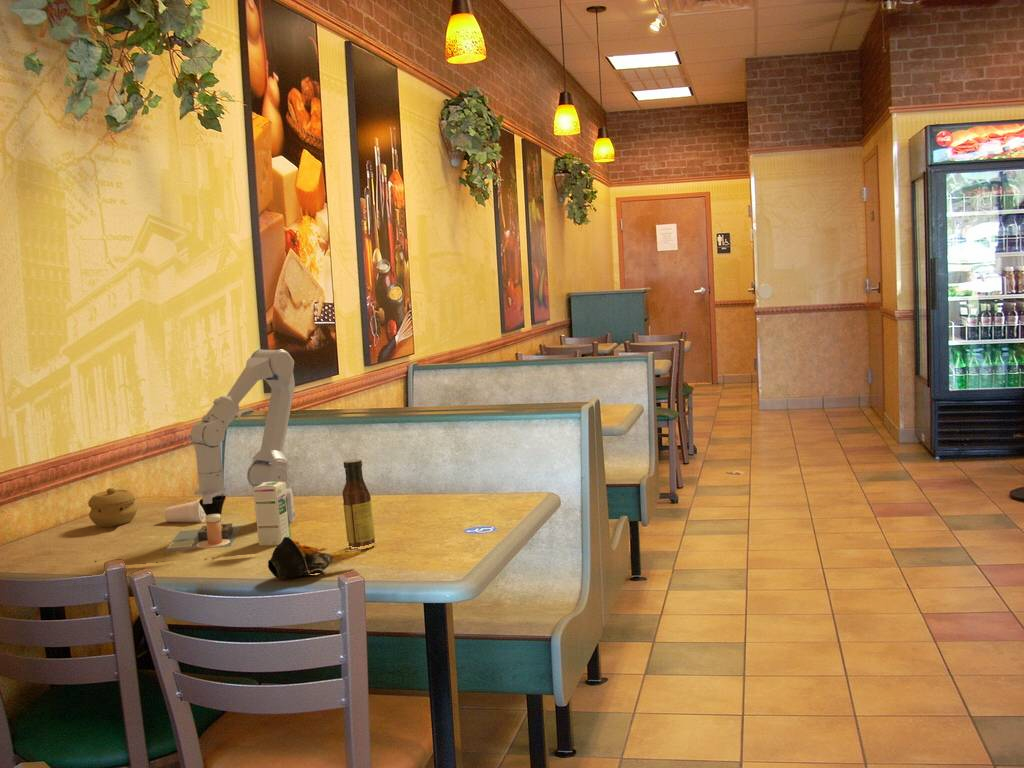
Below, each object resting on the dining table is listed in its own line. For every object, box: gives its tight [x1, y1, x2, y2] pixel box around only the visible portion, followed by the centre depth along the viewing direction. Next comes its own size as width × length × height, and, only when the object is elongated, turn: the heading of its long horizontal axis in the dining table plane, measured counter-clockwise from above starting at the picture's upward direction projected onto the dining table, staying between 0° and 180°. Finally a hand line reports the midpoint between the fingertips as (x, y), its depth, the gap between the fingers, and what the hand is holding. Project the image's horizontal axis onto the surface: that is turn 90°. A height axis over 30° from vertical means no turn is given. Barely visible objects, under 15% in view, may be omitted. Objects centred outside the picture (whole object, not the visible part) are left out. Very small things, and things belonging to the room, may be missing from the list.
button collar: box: [198, 523, 234, 541], centre depth 255 cm, size 7×7×2 cm
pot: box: [87, 487, 138, 528], centre depth 277 cm, size 12×12×10 cm
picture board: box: [163, 525, 243, 553], centre depth 254 cm, size 15×20×1 cm
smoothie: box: [164, 498, 206, 523], centre depth 274 cm, size 6×6×14 cm
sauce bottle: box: [342, 458, 376, 547], centre depth 238 cm, size 6×6×20 cm
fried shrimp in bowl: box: [267, 537, 362, 579], centre depth 220 cm, size 9×11×18 cm
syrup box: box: [252, 481, 292, 546], centre depth 245 cm, size 6×6×14 cm
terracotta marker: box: [204, 513, 222, 545], centre depth 248 cm, size 4×4×6 cm
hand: (215, 527), depth 255 cm, fingers closed, pressing on done button
